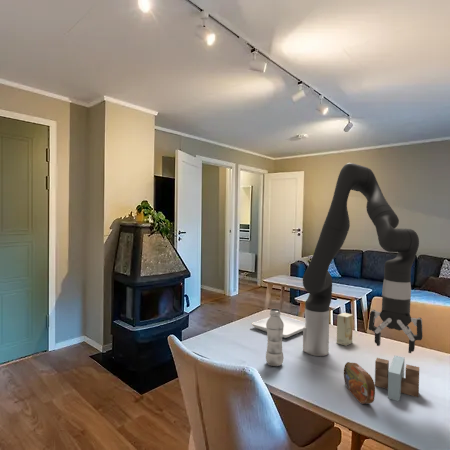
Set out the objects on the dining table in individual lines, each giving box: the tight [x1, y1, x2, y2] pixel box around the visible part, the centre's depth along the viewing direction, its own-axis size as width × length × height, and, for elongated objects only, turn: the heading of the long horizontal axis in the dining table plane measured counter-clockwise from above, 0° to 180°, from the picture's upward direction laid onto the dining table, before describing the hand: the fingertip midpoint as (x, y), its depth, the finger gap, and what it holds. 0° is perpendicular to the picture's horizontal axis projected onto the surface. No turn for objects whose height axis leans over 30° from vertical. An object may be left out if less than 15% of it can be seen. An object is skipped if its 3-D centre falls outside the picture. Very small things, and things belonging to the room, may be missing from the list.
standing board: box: [374, 357, 420, 398], centre depth 104 cm, size 12×3×8 cm, turn 57°
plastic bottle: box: [265, 308, 284, 367], centre depth 120 cm, size 6×7×20 cm
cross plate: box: [387, 355, 405, 402], centre depth 104 cm, size 14×3×8 cm, turn 146°
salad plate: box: [251, 314, 305, 339], centre depth 158 cm, size 21×21×3 cm
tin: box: [343, 361, 376, 405], centre depth 100 cm, size 15×3×8 cm, turn 5°
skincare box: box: [336, 312, 354, 346], centre depth 141 cm, size 6×4×12 cm
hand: (393, 348), depth 99 cm, fingers open, 8 cm apart
